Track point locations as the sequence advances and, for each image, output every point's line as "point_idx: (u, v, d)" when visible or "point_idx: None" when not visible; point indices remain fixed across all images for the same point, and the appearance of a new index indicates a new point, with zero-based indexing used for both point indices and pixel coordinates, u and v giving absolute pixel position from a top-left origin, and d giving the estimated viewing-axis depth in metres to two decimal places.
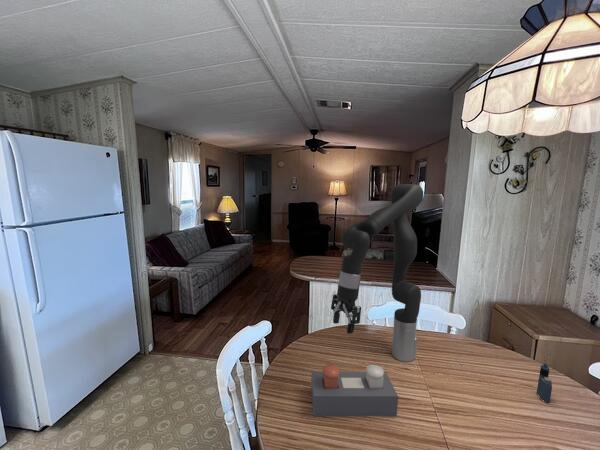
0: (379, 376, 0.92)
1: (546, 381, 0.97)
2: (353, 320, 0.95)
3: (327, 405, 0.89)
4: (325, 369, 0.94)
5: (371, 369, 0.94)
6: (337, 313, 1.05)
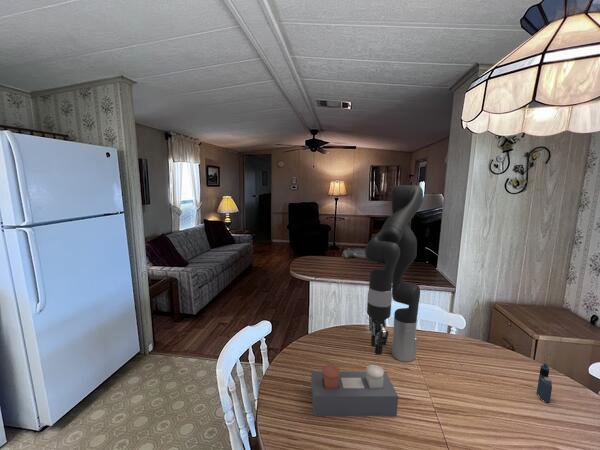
0: (379, 376, 0.92)
1: (546, 381, 0.97)
2: (377, 341, 0.88)
3: (327, 405, 0.89)
4: (325, 369, 0.94)
5: (371, 369, 0.94)
6: (374, 336, 0.95)
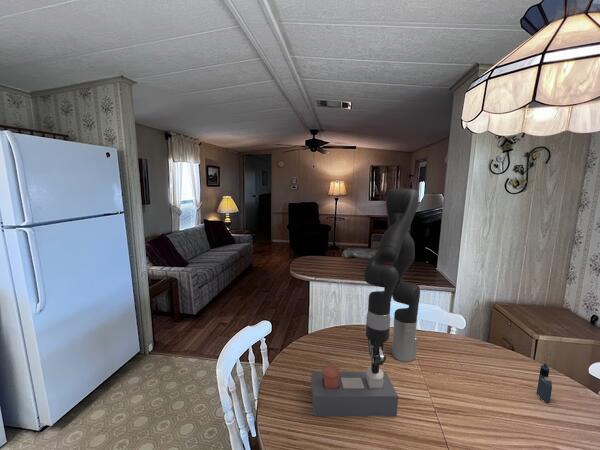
0: (379, 378, 0.92)
1: (546, 381, 0.97)
2: (374, 361, 0.91)
3: (327, 405, 0.89)
4: (325, 369, 0.94)
5: (371, 371, 0.95)
6: None
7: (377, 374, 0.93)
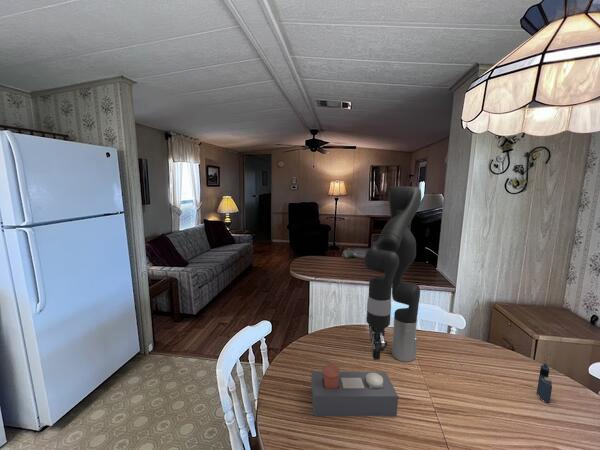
0: (378, 385, 0.92)
1: (546, 381, 0.97)
2: (375, 347, 0.90)
3: (327, 405, 0.89)
4: (325, 369, 0.94)
5: (370, 377, 0.95)
6: None
7: (377, 380, 0.93)
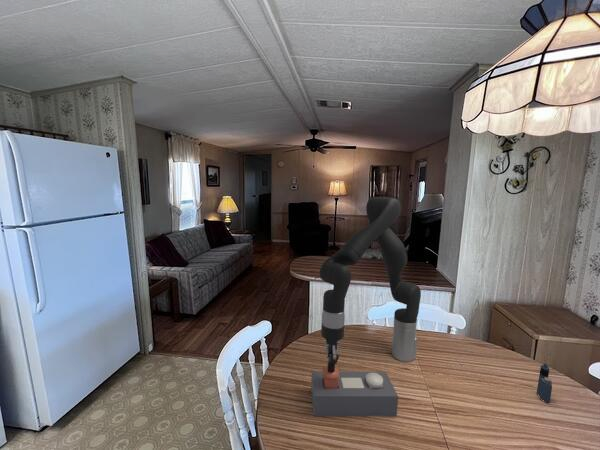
0: (378, 385, 0.92)
1: (546, 381, 0.97)
2: (329, 359, 0.90)
3: (327, 405, 0.89)
4: (325, 370, 0.94)
5: (370, 377, 0.95)
6: None
7: (377, 380, 0.93)
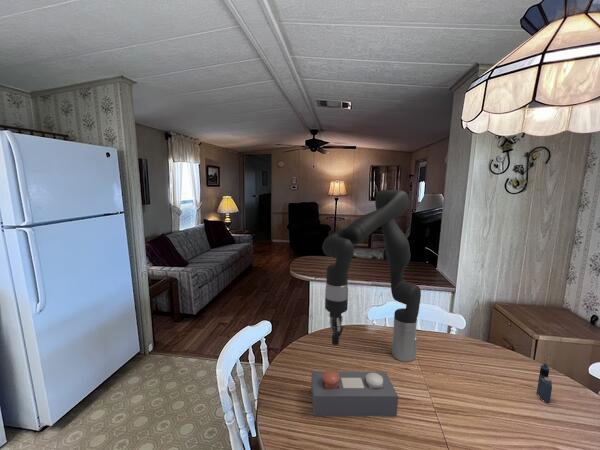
0: (378, 385, 0.92)
1: (546, 381, 0.97)
2: (333, 332, 0.92)
3: (327, 405, 0.89)
4: (325, 375, 0.94)
5: (370, 377, 0.95)
6: None
7: (377, 380, 0.93)
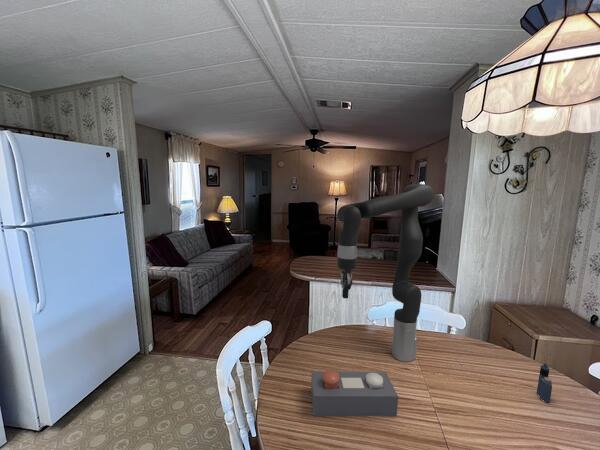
0: (378, 385, 0.92)
1: (546, 381, 0.97)
2: (344, 286, 1.09)
3: (327, 405, 0.89)
4: (325, 375, 0.94)
5: (370, 377, 0.95)
6: None
7: (377, 380, 0.93)
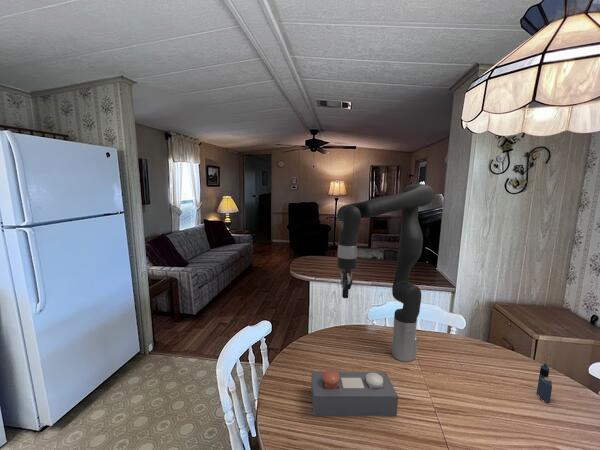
0: (378, 385, 0.92)
1: (546, 381, 0.97)
2: (344, 286, 1.09)
3: (327, 405, 0.89)
4: (325, 375, 0.94)
5: (370, 377, 0.95)
6: None
7: (377, 380, 0.93)
